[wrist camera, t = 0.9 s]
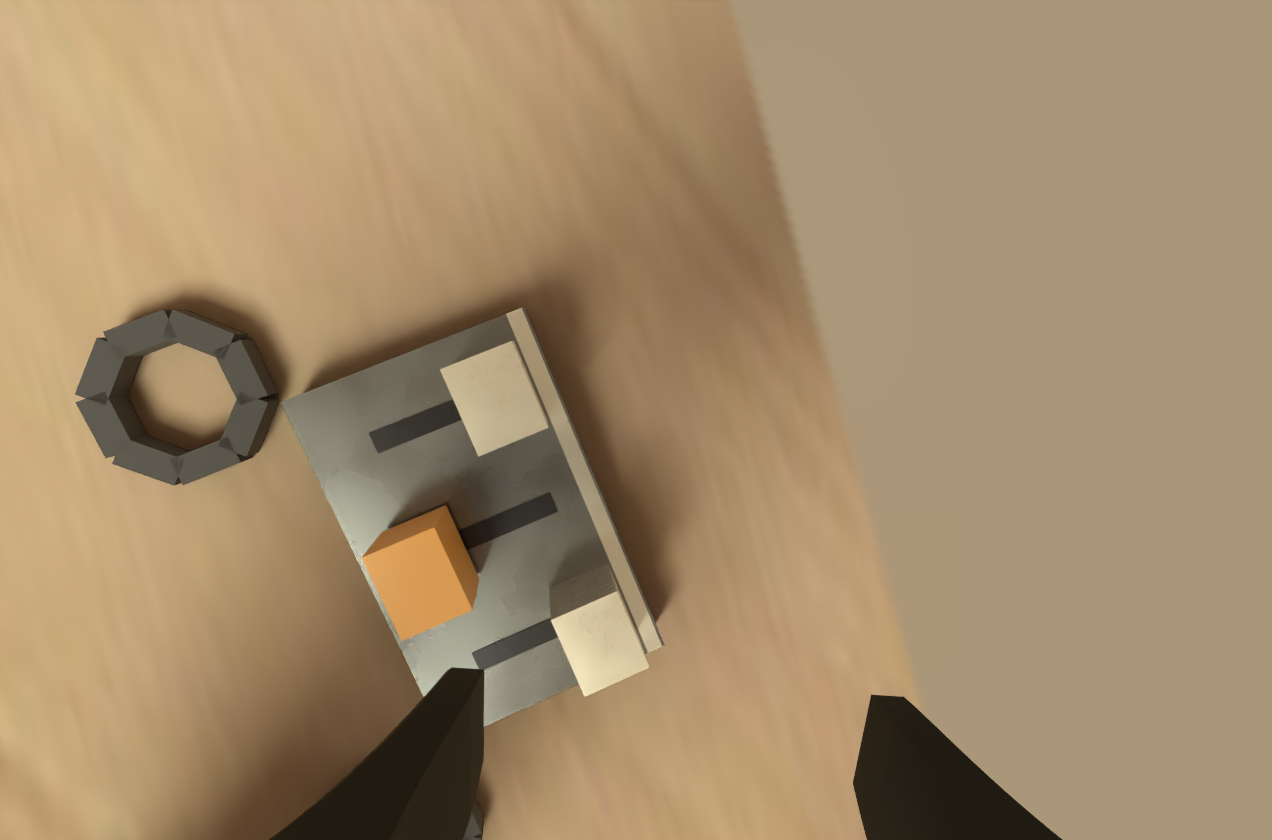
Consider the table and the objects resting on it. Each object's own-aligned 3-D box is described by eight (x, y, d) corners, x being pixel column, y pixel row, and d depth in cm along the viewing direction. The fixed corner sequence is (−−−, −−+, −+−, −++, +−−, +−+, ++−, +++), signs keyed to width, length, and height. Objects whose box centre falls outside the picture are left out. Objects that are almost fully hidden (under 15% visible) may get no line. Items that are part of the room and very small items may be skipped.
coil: (148, 498, 25) (131, 505, 24) (70, 351, 24) (48, 352, 23) (300, 438, 26) (290, 442, 25) (229, 292, 25) (216, 289, 24)
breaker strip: (452, 715, 28) (435, 796, 23) (299, 397, 25) (243, 410, 21) (655, 624, 29) (680, 682, 24) (524, 309, 26) (523, 301, 21)
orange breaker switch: (417, 605, 25) (401, 640, 22) (382, 531, 24) (360, 557, 21) (479, 578, 25) (472, 610, 22) (445, 505, 24) (434, 527, 21)
